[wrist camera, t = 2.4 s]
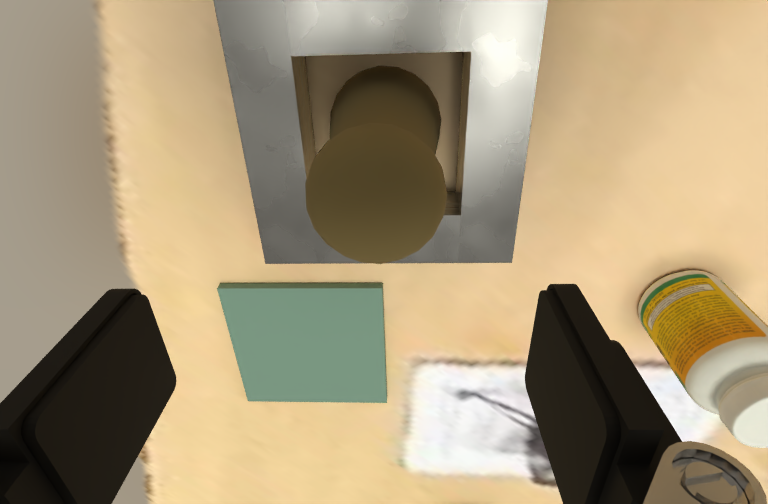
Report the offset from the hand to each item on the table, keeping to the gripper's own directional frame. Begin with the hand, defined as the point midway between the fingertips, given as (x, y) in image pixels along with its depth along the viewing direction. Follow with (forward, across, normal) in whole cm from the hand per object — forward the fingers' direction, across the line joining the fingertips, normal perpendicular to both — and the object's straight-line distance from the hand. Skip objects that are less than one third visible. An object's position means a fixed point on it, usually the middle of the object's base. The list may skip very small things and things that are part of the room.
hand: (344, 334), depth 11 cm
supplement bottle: (+16, -20, +11) cm, 28 cm away
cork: (+17, -1, -1) cm, 17 cm away
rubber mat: (+17, +5, +15) cm, 23 cm away
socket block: (+16, -1, -1) cm, 16 cm away
